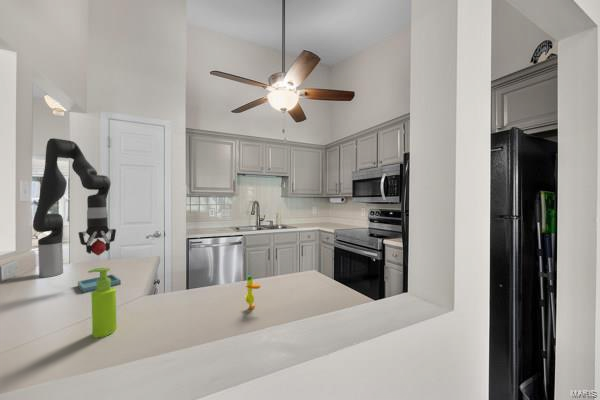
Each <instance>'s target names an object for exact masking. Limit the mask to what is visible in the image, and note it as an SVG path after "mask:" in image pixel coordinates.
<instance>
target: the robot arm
mask: <svg viewBox="0 0 600 400" xmlns="http://www.w3.org/2000/svg"><path fill="white" fill-rule="evenodd" d="M45 147H46V148H45V159H44V160H45V161H44V169H43V170H44V171H43V175H42V179H41V185H40V189H39V192H40V193H39V196H38V197H39V198H38V203H37V207H36V210H35V213H34V217H33V220H32V228H33V230H34V231H35V232H39V233H44V232H50V233H49V234H48V235H45V236H44V237H43V236H42V237H41V238H39V239H38V241H37V245H38V247H37V248H38V249H37V250H38V253H37V254H38V277H39V278H49V277H50V278H52V277H54V276H55V277H56V276H59V275H61V274H64V258H63V257H64V256H63V254H64V253H63V251H64V250H63V238H64V218H63V216H62V214H60V213H49V211H50V209H51V208H52V207H53V206H54V205H55V204H56V203H57V202H58V201H60V200H61V199H62V198H63V196H65V194H66V189H67V183H68V181H67V180H66V177H65V176H64V174H63V173H62V172H61V170H60V168H59V165H58V159H59V158H63V159H71V160H73V161H72V163H71V168H72V170H73V171H74V173H76V175H78V177H79V178H80V183H81V186H82V187H83V188H84V189H86V190H93V191H95V190H96V191H97V193H95V194H91V195H88V196H87V202H86V203H87V210H86V224H87V226H86V227H87V228H86V230H85V231H78V237H79V241H80V242H79V243H80V245H83V246H85V247H86V248H85V250H86V253H88V254H92V251H91V245H92V243H93V242H94V239H95V240H97V239H103V240H104V243H105V244H106V250H105V252H108V251H109V250H110V249H111V245H110V244H111V243H112V242H114V241H115V239H116V238H115V237H116V233H117V229H116V228H109V222H108V220H109V218H108V217H109V215H108V209H107V207H108V206H107V197H108V194H109V192H110V191H109V190H110V188H111V183H112V182H111V180H110V178H109V177H108V176H107V175H104V174H98V171H97V169H96V168H95V167H93V165H92V164H90V163H89V161H88V159H86V157H85V155H84V153H83V152H82V150H81V149H80V147H79V145H78V144H77V142H74V141H72V140H69V139H62V138H61V139H60V138H49V139H48V141H47V142H46V145H45ZM108 233H109V234H110V237H108V236H107V235H108ZM86 234H87V235H88V239H87V241H86V240H85V238H84V237H85V236H86Z"/></svg>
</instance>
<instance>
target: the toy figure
mask: <svg viewBox="0 0 600 400" xmlns="http://www.w3.org/2000/svg"><path fill="white" fill-rule="evenodd" d="M246 277H247V278H246V285H245V288H247V295H243V296H244V298H245V302H246V303H247V304H248V305H249V306H248V309H249V308H251V309H250V310H253V309H255V308H256V306H255V305H254V304H253V303H254V302H255V296H254V293H253V290H258V289H261V284H259V283H258V284H257V283H253V282H254V281H253V277H252V275H247V276H246Z"/></svg>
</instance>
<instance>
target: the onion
mask: <svg viewBox="0 0 600 400" xmlns="http://www.w3.org/2000/svg"><path fill="white" fill-rule="evenodd" d="M105 243H106V242H105V241H102V240H101V239H100V238H96V239H95V241H93V242H92V243H91V244H90V245H91V253H93V254H94V255H96V256H100V255H102V254H103V253H105V252H106V244H105Z"/></svg>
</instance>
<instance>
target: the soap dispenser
mask: <svg viewBox="0 0 600 400" xmlns="http://www.w3.org/2000/svg"><path fill="white" fill-rule="evenodd" d="M110 270H111V268H110V267H98V268H97V267H96V268H94V269H91V270H88V271H87V273H88V274H89V273H97V272H98V273H99V277H100V279H98V280H97V290H95V291H91V323H92V325H91V327H92V329H91V330H92V337H93V338H95V339H97V338H98V337H100V338H105V337H107V335H108V336H110V335H112V334H114V333H115V332H116V331H117V330H118V329H117V328H118V327H117V291H116V290H117V289H116V287H115V286H112V287H111V283H110V278H108V277H107V275H108V273H107V272H109V271H110ZM116 329H117V330H116ZM115 330H116V331H115ZM114 331H115V332H114ZM113 332H114V333H113ZM111 333H112V334H111ZM109 334H110V335H109ZM104 336H105V337H104ZM98 339H99V338H98Z"/></svg>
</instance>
